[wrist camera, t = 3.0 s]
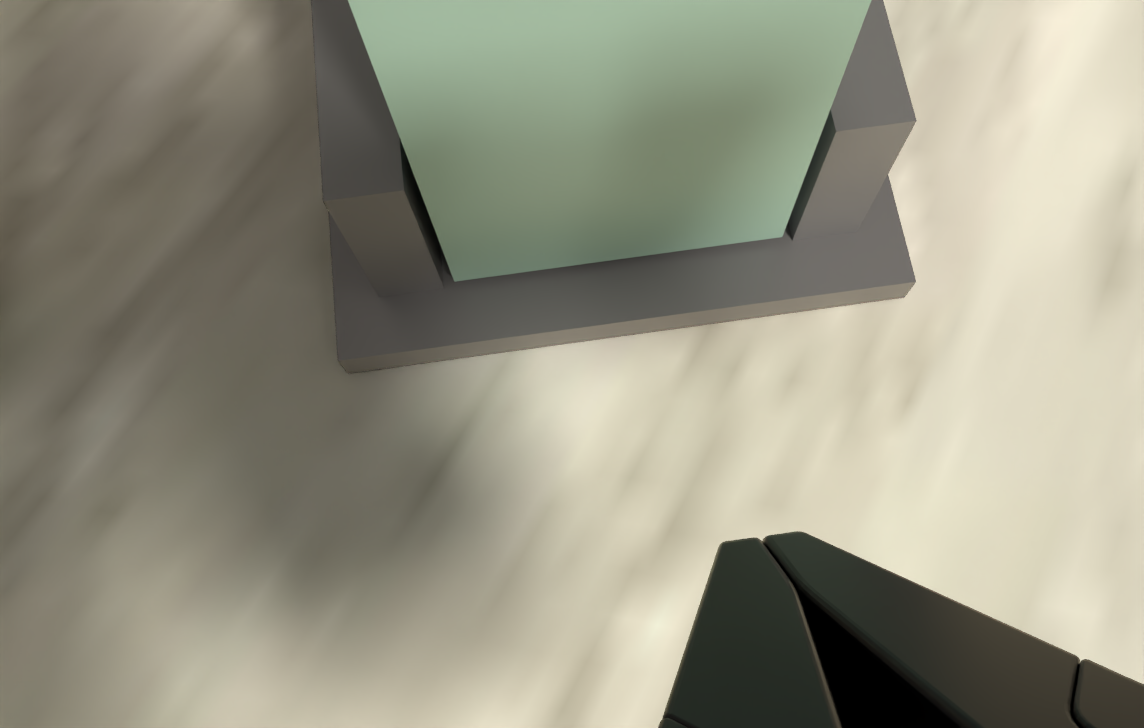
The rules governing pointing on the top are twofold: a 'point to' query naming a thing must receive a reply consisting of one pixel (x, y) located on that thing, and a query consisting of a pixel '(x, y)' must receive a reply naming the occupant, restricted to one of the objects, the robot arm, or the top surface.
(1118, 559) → the top surface
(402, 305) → the switch housing
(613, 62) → the pale green tall block
